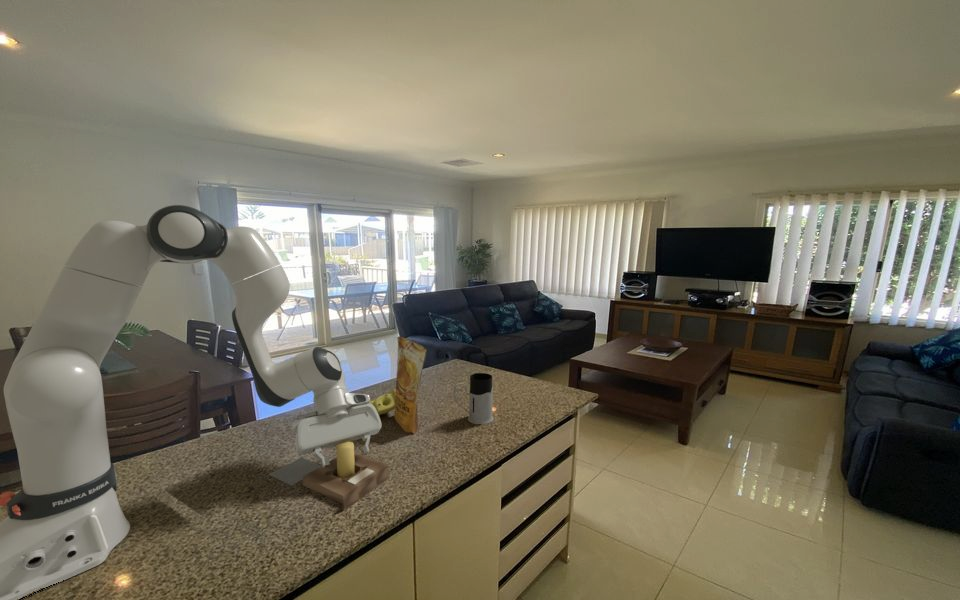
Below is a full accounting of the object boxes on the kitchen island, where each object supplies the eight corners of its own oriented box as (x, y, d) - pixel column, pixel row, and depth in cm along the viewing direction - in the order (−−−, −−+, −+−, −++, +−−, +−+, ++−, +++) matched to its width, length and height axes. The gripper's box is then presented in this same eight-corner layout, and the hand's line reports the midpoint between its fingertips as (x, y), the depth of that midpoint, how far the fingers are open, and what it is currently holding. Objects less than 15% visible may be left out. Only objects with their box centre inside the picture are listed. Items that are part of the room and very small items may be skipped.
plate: (291, 491, 89) (291, 485, 88) (268, 480, 93) (268, 474, 93) (324, 472, 96) (323, 466, 96) (301, 462, 101) (301, 457, 101)
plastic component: (342, 421, 121) (337, 398, 128) (343, 436, 124) (338, 413, 132) (402, 406, 129) (394, 385, 137) (401, 420, 133) (394, 399, 140)
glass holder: (498, 421, 126) (498, 378, 124) (458, 429, 120) (459, 384, 118) (486, 411, 134) (486, 371, 132) (449, 418, 128) (449, 376, 126)
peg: (345, 491, 89) (344, 451, 88) (334, 486, 91) (332, 447, 90) (358, 482, 92) (357, 444, 91) (347, 477, 94) (345, 440, 93)
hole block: (344, 510, 82) (343, 495, 82) (302, 490, 89) (302, 476, 89) (388, 477, 94) (388, 464, 94) (349, 462, 101) (349, 449, 101)
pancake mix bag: (407, 410, 134) (406, 334, 131) (428, 432, 118) (428, 346, 115) (389, 414, 131) (387, 336, 127) (408, 438, 115) (407, 348, 111)
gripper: (290, 411, 89) (301, 470, 82) (374, 393, 101) (389, 443, 94) (288, 422, 93) (298, 479, 86) (369, 404, 105) (383, 452, 98)
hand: (346, 460), depth 90 cm, fingers open, 8 cm apart
